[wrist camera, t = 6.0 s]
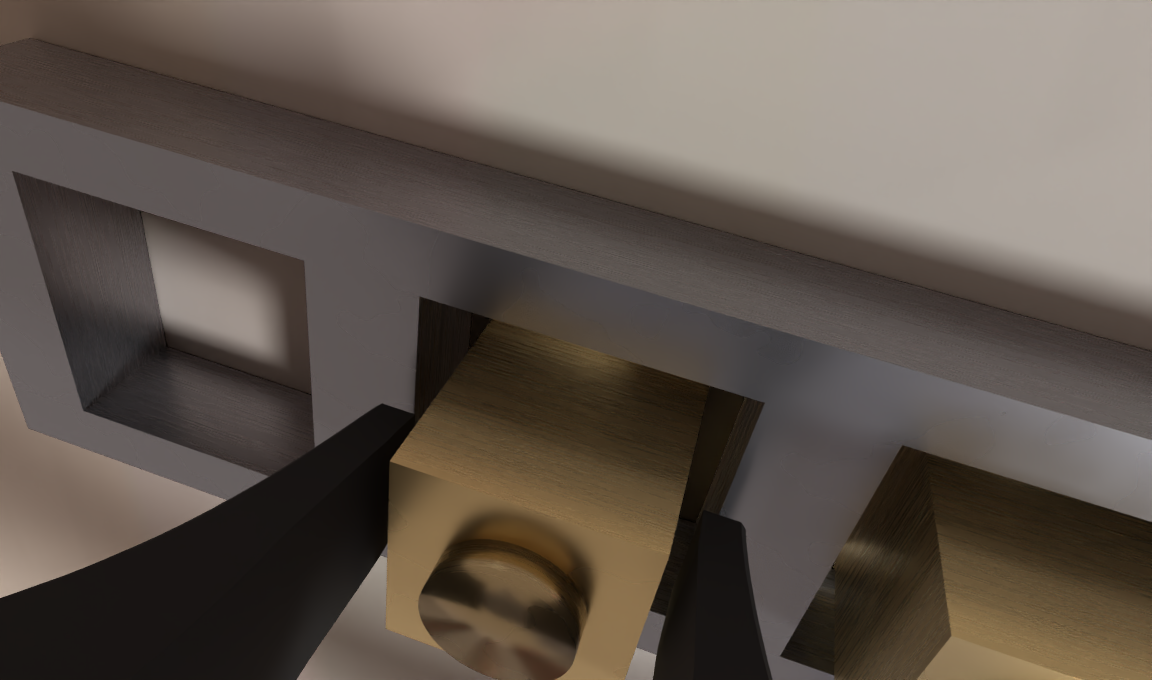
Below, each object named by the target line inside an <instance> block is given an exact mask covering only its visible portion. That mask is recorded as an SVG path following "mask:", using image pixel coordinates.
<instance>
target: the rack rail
mask: <svg viewBox="0 0 1152 680" xmlns="http://www.w3.org/2000/svg"><path fill="white" fill-rule="evenodd" d="M140 210H141V211H144V212H147V213H151V214H154V215H157V216H160V217H164V218H167V219H170V220H173V221H177V222H180V223H183V224H186V225H190V226H193V227H196V228H199V229H203V230H206V231H209V232H212V233H216V234H219V235H222V236H225V237H229V238H232V239H235V240H238V241H242V242H245V243H248V244H251V245H254V246H258V247H261V248H264V249H267V250H271V251H274V252H277V253H280V254H284V255H287V256H290V257H293V258H297V259H300V260H303V261H304V267H305V284H306V302H307V319H308V337H309V354H310V372H311V389H312V395H309V394H306V393H303V392H300V391H297V390H294V389H291V388H288V387H285V386H282V385H279V384H276V383H273V382H270V381H267V380H264V379H261V378H258V377H255V376H252V375H249V374H246V373H243V372H240V371H237V370H234V369H231V368H228V367H225V366H222V365H219V364H216V363H213V362H210V361H207V360H204V359H201V358H198V357H195V356H192V355H189V354H187V353H184V352H181V351H178V350H175V349H172V348H169V347H167V346H166V341H165V336H164V331H163V326H162V321H161V316H160V311H159V306H158V301H157V296H156V290H155V285H154V280H153V275H152V270H151V265H150V260H149V255H148V250H147V245H146V240H145V234H144V229H143V224H142V219H141V214H140ZM472 313H475V314H478V315H482V316H485V317H488V318H491V319H495V320H498V321H501V322H504V323H508V324H511V325H514V326H517V327H521V328H524V329H527V330H530V331H534V332H537V333H540V334H543V335H547V336H550V337H553V338H556V339H560V340H563V341H566V342H569V343H573V344H576V345H579V346H582V347H586V348H589V349H592V350H595V351H598V352H602V353H605V354H608V355H611V356H615V357H618V358H621V359H624V360H628V361H631V362H634V363H637V364H641V365H644V366H647V367H650V368H654V369H657V370H660V371H663V372H667V373H670V374H673V375H676V376H680V377H683V378H686V379H689V380H693V381H696V382H699V383H702V384H706V385H709V386H712V387H715V388H719V389H722V390H725V391H728V392H732V393H735V394H738V395H741V396H745V398H744V400H743V403H742V406H741V408H740V411H739V413H738V416H737V418H736V421H735V424H734V426H733V429H732V431H731V434H730V436H729V439H728V442H727V444H726V447H725V449H724V452H723V454H722V457H721V460H720V462H719V465H718V467H717V470H716V472H715V475H714V478H713V480H712V483H711V485H710V488H709V491H708V493H707V496H706V498H705V501H704V503H703V506H702V509H701V511H700V514H699V516H698V519H697V521H696V523H693V522H690V521H687V520H684V519H681V518H678V521H677V526H676V530H675V534H674V538H673V543H672V547H671V551H670V555H669V558H668V561H667V564H666V567H665V569H664V572H663V575H662V578H661V580H660V583H659V586H658V589H657V591H656V594H655V597H654V600H653V602H652V605H651V608H650V611H649V613H648V616H647V619H646V622H645V624H644V627H643V630H642V633H641V635H640V638H639V641H638V644H637V646H636V647H637V648H639V649H642V650H645V651H648V652H650V653H653V654H656V655H657V649H658V645H659V641H660V636H661V632H662V628H663V624H664V620H665V616H666V612H667V608H668V604H669V600H670V597H671V593H672V589H673V586H674V583H675V581H676V578H677V576H678V573H679V571H680V568H681V566H682V563H683V560H684V558H685V555H686V553H687V550H688V548H689V545H690V543H691V540H692V537H693V535H694V532H695V530H696V527H697V525H698V522H699V520H700V517H701V514H702V512H703V510H706V511H709V512H712V513H715V514H718V515H721V516H724V517H727V518H730V519H733V520H736V521H739V522H742V524H743V526H744V527H745V529H746V542H747V552H748V561H749V569H750V576H751V582H752V588H753V594H754V600H755V605H756V610H757V615H758V620H759V625H760V629H761V633H762V638H763V642H764V647H765V651H766V655H767V660H768V664H769V667H770V671H771V675H772V679H773V680H834V647H835V570H833V569H831V567H832V565H833V564H834V562H835V560H836V559H837V557H838V555H839V553H840V552H841V550H842V548H843V547H844V545H845V543H846V541H847V540H848V538H849V536H850V534H851V533H852V531H853V529H854V528H855V526H856V524H857V522H858V521H859V519H860V517H861V515H862V514H863V512H864V510H865V509H866V507H867V505H868V503H869V502H870V500H871V498H872V496H873V495H874V493H875V491H876V490H877V488H878V486H879V484H880V483H881V481H882V479H883V477H884V476H885V474H886V472H887V471H888V469H889V467H890V465H891V464H892V462H893V460H894V458H895V457H896V455H897V453H898V452H899V450H900V448H901V446H902V445H904V446H907V447H910V448H913V449H917V450H920V451H923V452H926V453H929V454H933V455H936V456H939V457H942V458H946V459H949V460H952V461H955V462H959V463H962V464H965V465H968V466H972V467H975V468H978V469H981V470H985V471H988V472H991V473H994V474H998V475H1001V476H1004V477H1007V478H1011V479H1014V480H1017V481H1020V482H1024V483H1027V484H1030V485H1033V486H1037V487H1040V488H1043V489H1046V490H1050V491H1053V492H1056V493H1059V494H1063V495H1066V496H1069V497H1072V498H1076V499H1079V500H1082V501H1085V502H1089V503H1092V504H1095V505H1098V506H1101V507H1105V508H1108V509H1111V510H1114V511H1118V512H1121V513H1124V514H1127V515H1131V516H1134V517H1137V518H1140V519H1144V520H1147V521H1150V522H1152V352H1151V351H1147V350H1144V349H1140V348H1136V347H1133V346H1129V345H1126V344H1122V343H1119V342H1115V341H1111V340H1108V339H1104V338H1101V337H1097V336H1094V335H1090V334H1086V333H1083V332H1079V331H1076V330H1072V329H1068V328H1065V327H1061V326H1058V325H1054V324H1051V323H1047V322H1043V321H1040V320H1036V319H1033V318H1029V317H1026V316H1022V315H1018V314H1015V313H1011V312H1008V311H1004V310H1001V309H997V308H993V307H990V306H986V305H983V304H979V303H976V302H972V301H968V300H965V299H961V298H958V297H954V296H950V295H947V294H943V293H940V292H936V291H933V290H929V289H925V288H922V287H918V286H915V285H911V284H908V283H904V282H900V281H897V280H893V279H890V278H886V277H883V276H879V275H875V274H872V273H868V272H865V271H861V270H857V269H854V268H850V267H847V266H843V265H840V264H836V263H832V262H829V261H825V260H822V259H818V258H815V257H811V256H807V255H804V254H800V253H797V252H793V251H790V250H786V249H782V248H779V247H775V246H772V245H768V244H765V243H761V242H757V241H754V240H750V239H747V238H743V237H739V236H736V235H732V234H729V233H725V232H722V231H718V230H714V229H711V228H707V227H704V226H700V225H697V224H693V223H689V222H686V221H682V220H679V219H675V218H672V217H668V216H664V215H661V214H657V213H654V212H650V211H646V210H643V209H639V208H636V207H632V206H629V205H625V204H621V203H618V202H614V201H611V200H607V199H604V198H600V197H596V196H593V195H589V194H586V193H582V192H579V191H575V190H571V189H568V188H564V187H561V186H557V185H553V184H550V183H546V182H543V181H539V180H536V179H532V178H528V177H525V176H521V175H518V174H514V173H511V172H507V171H503V170H500V169H496V168H493V167H489V166H486V165H482V164H478V163H475V162H471V161H468V160H464V159H461V158H457V157H453V156H450V155H446V154H443V153H439V152H435V151H432V150H428V149H425V148H421V147H418V146H414V145H410V144H407V143H403V142H400V141H396V140H393V139H389V138H385V137H382V136H378V135H375V134H371V133H368V132H364V131H360V130H357V129H353V128H350V127H346V126H342V125H339V124H335V123H332V122H328V121H325V120H321V119H317V118H314V117H310V116H307V115H303V114H300V113H296V112H292V111H289V110H285V109H282V108H278V107H275V106H271V105H267V104H264V103H260V102H257V101H253V100H250V99H246V98H242V97H239V96H235V95H232V94H228V93H224V92H221V91H217V90H214V89H210V88H207V87H203V86H199V85H196V84H192V83H189V82H185V81H182V80H178V79H174V78H171V77H167V76H164V75H160V74H157V73H153V72H149V71H146V70H142V69H139V68H135V67H131V66H128V65H124V64H121V63H117V62H114V61H110V60H106V59H103V58H99V57H96V56H92V55H89V54H85V53H81V52H78V51H74V50H71V49H67V48H64V47H60V46H56V45H53V44H49V43H46V42H42V41H39V40H35V39H31V38H29V39H25V40H21V41H17V42H13V43H9V44H5V45H2V46H0V351H1V354H2V357H3V360H4V363H5V365H6V368H7V371H8V374H9V376H10V379H11V382H12V385H13V387H14V390H15V393H16V396H17V399H18V401H19V404H20V407H21V410H22V412H23V415H24V418H25V421H26V424H27V426H28V428H29V429H32V430H34V431H37V432H40V433H43V434H45V435H48V436H51V437H54V438H57V439H59V440H62V441H65V442H68V443H70V444H73V445H76V446H79V447H82V448H84V449H87V450H90V451H93V452H95V453H98V454H101V455H104V456H106V457H109V458H112V459H115V460H118V461H120V462H123V463H126V464H129V465H131V466H134V467H137V468H140V469H143V470H145V471H148V472H151V473H154V474H156V475H159V476H162V477H165V478H168V479H170V480H173V481H176V482H179V483H181V484H184V485H187V486H190V487H193V488H195V489H198V490H201V491H204V492H206V493H209V494H212V495H215V496H218V497H220V498H223V499H226V500H229V499H230V498H232V497H234V496H236V495H237V494H239V493H241V492H243V491H244V490H246V489H248V488H250V487H251V486H253V485H255V484H257V483H259V482H260V481H262V480H264V479H265V478H267V477H269V476H270V475H272V474H274V473H275V472H277V471H278V470H280V469H281V468H283V467H285V466H286V465H288V464H289V463H291V462H293V461H294V460H296V459H297V458H299V457H301V456H302V455H304V454H305V453H307V452H309V451H310V450H312V449H313V448H315V447H316V446H318V445H319V444H321V443H322V442H324V441H325V440H327V439H328V438H330V437H331V436H333V435H334V434H336V433H337V432H339V431H340V430H342V429H343V428H345V427H346V426H348V425H349V424H351V423H352V422H353V421H355V420H356V419H358V418H359V417H361V416H362V415H364V414H365V413H367V412H368V411H370V410H371V409H373V408H374V407H376V406H378V405H380V404H382V403H383V404H386V405H389V406H392V407H395V408H398V409H401V410H404V411H407V412H410V413H413V414H415V425H416V424H417V423H418V421H419V420H420V418H421V417H422V416H423V414H424V413H425V411H426V410H427V409H428V407H429V406H430V404H431V403H432V402H433V400H434V399H435V398H436V396H437V395H438V393H439V392H440V391H441V389H442V388H443V386H444V385H445V384H446V382H447V381H448V380H449V378H450V377H451V375H452V374H453V373H454V371H455V370H456V368H457V367H458V366H459V364H460V363H461V361H462V360H463V359H464V357H465V356H466V355H467V353H468V345H469V335H470V325H471V315H472ZM387 551H388V543H387V545H386V547H385V549H384V551H383V552H382V554H381V556H384V557H387Z"/></svg>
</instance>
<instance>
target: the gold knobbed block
mask: <svg viewBox="0 0 1152 680" xmlns="http://www.w3.org/2000/svg"><path fill="white" fill-rule="evenodd" d="M834 680H1152V522H1150V521H1147V520H1144V519H1140V518H1137V517H1134V516H1131V515H1127V514H1124V513H1121V512H1118V511H1114V510H1111V509H1108V508H1105V507H1101V506H1098V505H1095V504H1092V503H1089V502H1085V501H1082V500H1079V499H1076V498H1072V497H1069V496H1066V495H1063V494H1059V493H1056V492H1053V491H1050V490H1046V489H1043V488H1040V487H1037V486H1033V485H1030V484H1027V483H1024V482H1020V481H1017V480H1014V479H1011V478H1007V477H1004V476H1001V475H998V474H994V473H991V472H988V471H985V470H981V469H978V468H975V467H972V466H968V465H965V464H962V463H959V462H955V461H952V460H949V459H946V458H942V457H939V456H936V455H933V454H929V453H926V452H923V451H920V450H917V449H913V448H910V447H907V446H904V445H902V446H901V448H900V450H899V452H898V453H897V455H896V457H895V458H894V460H893V462H892V464H891V465H890V467H889V469H888V471H887V472H886V474H885V476H884V477H883V479H882V481H881V483H880V484H879V486H878V488H877V490H876V491H875V493H874V495H873V496H872V498H871V500H870V502H869V503H868V505H867V507H866V509H865V510H864V512H863V514H862V515H861V517H860V519H859V521H858V522H857V524H856V526H855V528H854V529H853V531H852V533H851V534H850V536H849V538H848V540H847V541H846V543H845V545H844V547H843V548H842V550H841V552H840V553H839V555H838V557H837V559H836V560H835V647H834Z"/></svg>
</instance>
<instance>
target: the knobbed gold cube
mask: <svg viewBox="0 0 1152 680" xmlns="http://www.w3.org/2000/svg"><path fill="white" fill-rule="evenodd" d="M708 390H709V385H706V384H702V383H699V382H696V381H693V380H689V379H686V378H683V377H680V376H676V375H673V374H670V373H667V372H663V371H660V370H657V369H654V368H650V367H647V366H644V365H641V364H637V363H634V362H631V361H628V360H624V359H621V358H618V357H615V356H611V355H608V354H605V353H602V352H598V351H595V350H592V349H589V348H586V347H582V346H579V345H576V344H573V343H569V342H566V341H563V340H560V339H556V338H553V337H550V336H547V335H543V334H540V333H537V332H534V331H530V330H527V329H524V328H521V327H517V326H514V325H511V324H508V323H504V322H501V321H498V320H495V319H492V320H491V321H490V323H489V324H488V325H487V327H486V328H485V330H484V331H483V332H482V334H481V335H480V336H479V338H478V339H477V341H476V342H475V343H474V345H473V346H472V348H471V349H470V350H469V352H468V353H467V355H466V356H465V357H464V359H463V360H462V361H461V363H460V364H459V366H458V367H457V368H456V370H455V371H454V373H453V374H452V375H451V377H450V378H449V380H448V381H447V382H446V384H445V385H444V386H443V388H442V389H441V391H440V392H439V393H438V395H437V396H436V398H435V399H434V400H433V402H432V403H431V404H430V406H429V407H428V409H427V410H426V411H425V413H424V414H423V416H422V417H421V418H420V420H419V421H418V423H417V424H416V425H415V427H414V428H413V429H412V431H411V432H410V434H409V435H408V436H407V438H406V439H405V441H404V442H403V443H402V445H401V446H400V448H399V449H398V450H397V452H396V453H395V454H394V456H393V457H392V459H391V460H390V466H389V509H388V551H387V594H386V629H388V630H390V631H393V632H396V633H398V634H401V635H404V636H406V637H409V638H412V639H414V640H417V641H420V642H422V643H425V644H428V645H431V646H433V647H436V648H439V649H441V650H444V651H446V652H447V653H448V654H449V655H451V656H452V657H453V658H455V659H456V660H458V661H459V662H461V663H462V664H464V665H466V666H467V667H469V668H471V669H473V670H475V671H477V672H479V673H482V674H484V675H486V676H489V677H492V678H495V679H499V680H624V679H625V677H626V674H627V671H628V668H629V666H630V663H631V660H632V657H633V655H634V652H635V649H636V646H637V644H638V641H639V638H640V635H641V633H642V630H643V627H644V624H645V622H646V619H647V616H648V613H649V611H650V608H651V605H652V602H653V600H654V597H655V594H656V591H657V589H658V586H659V583H660V580H661V578H662V575H663V572H664V569H665V567H666V564H667V561H668V558H669V555H670V551H671V547H672V543H673V538H674V534H675V530H676V526H677V521H678V517H679V513H680V509H681V504H682V500H683V496H684V492H685V487H686V483H687V479H688V475H689V470H690V466H691V462H692V458H693V453H694V449H695V445H696V441H697V436H698V432H699V428H700V424H701V419H702V415H703V411H704V407H705V402H706V398H707V394H708Z"/></svg>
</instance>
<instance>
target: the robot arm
mask: <svg viewBox="0 0 1152 680" xmlns="http://www.w3.org/2000/svg"><path fill="white" fill-rule="evenodd" d="M414 427H415V414H413V413H410V412H407V411H404V410H401V409H398V408H395V407H392V406H389V405H386V404H383V403H382V404H380V405H378V406H376V407H374V408H373V409H371V410H370V411H368V412H367V413H365V414H364V415H362V416H361V417H359V418H358V419H356V420H355V421H353V422H352V423H351V424H349V425H348V426H346V427H345V428H343V429H342V430H340V431H339V432H337V433H336V434H334V435H333V436H331V437H330V438H328V439H327V440H325V441H324V442H322V443H321V444H319V445H318V446H316V447H315V448H313V449H312V450H310V451H309V452H307V453H305V454H304V455H302V456H301V457H299V458H297V459H296V460H294V461H293V462H291V463H289V464H288V465H286V466H285V467H283V468H281V469H280V470H278V471H277V472H275V473H274V474H272V475H270V476H269V477H267V478H265V479H264V480H262V481H260V482H259V483H257V484H255V485H253V486H251V487H250V488H248V489H246V490H244V491H243V492H241V493H239V494H237V495H236V496H234V497H232V498H230V499H229V500H227V501H225V502H223V503H222V504H220V505H218V506H216V507H214V508H212V509H211V510H209V511H207V512H205V513H203V514H201V515H199V516H197V517H195V518H193V519H191V520H189V521H187V522H185V523H184V524H182V525H180V526H178V527H175V528H173V529H171V530H169V531H167V532H165V533H163V534H161V535H159V536H157V537H155V538H152V539H150V540H148V541H146V542H144V543H141V544H139V545H137V546H134V547H132V548H130V549H128V550H125V551H123V552H121V553H118V554H116V555H114V556H111V557H109V558H107V559H104V560H102V561H100V562H97V563H95V564H92V565H90V566H87V567H85V568H83V569H80V570H77V571H75V572H72V573H70V574H67V575H65V576H62V577H59V578H56V579H53V580H50V581H48V582H45V583H42V584H39V585H36V586H34V587H31V588H28V589H25V590H22V591H20V592H17V593H14V594H11V595H8V596H5V597H2V598H0V680H296V679H297V678H298V676H299V675H300V673H301V671H302V670H303V668H304V667H305V665H306V664H307V662H308V660H309V659H310V658H311V656H312V655H313V653H314V652H315V650H316V649H317V647H318V646H319V644H320V643H321V642H322V640H323V639H324V637H325V636H326V634H327V633H328V631H329V630H330V628H331V627H332V626H333V624H334V623H335V621H336V620H337V618H338V617H339V615H340V614H341V612H342V611H343V610H344V608H345V607H346V605H347V604H348V602H349V601H350V599H351V598H352V596H353V595H354V594H355V592H356V591H357V589H358V588H359V586H360V585H361V583H362V582H363V580H364V579H365V577H366V576H367V574H368V573H369V572H370V570H371V569H372V567H373V566H374V564H375V563H376V561H377V560H378V558H379V557H380V555H381V554H382V552H383V551H384V549H385V547H386V545H387V543H388V509H389V466H390V460H391V459H392V457H393V456H394V454H395V453H396V452H397V450H398V449H399V448H400V446H401V445H402V443H403V442H404V441H405V439H406V438H407V436H408V435H409V434H410V432H411V431H412V429H413V428H414ZM653 680H773V679H772V675H771V671H770V667H769V664H768V660H767V655H766V651H765V647H764V642H763V638H762V633H761V629H760V625H759V620H758V615H757V610H756V605H755V600H754V594H753V588H752V582H751V576H750V569H749V561H748V552H747V542H746V529H745V527H744V526H743V524H742V522H739V521H736V520H733V519H730V518H727V517H724V516H721V515H718V514H715V513H712V512H709V511H706V510H703V512H702V514H701V517H700V520H699V522H698V525H697V527H696V530H695V532H694V535H693V537H692V540H691V543H690V545H689V548H688V550H687V553H686V555H685V558H684V560H683V563H682V566H681V568H680V571H679V573H678V576H677V578H676V581H675V583H674V586H673V589H672V593H671V597H670V600H669V604H668V608H667V612H666V616H665V620H664V624H663V628H662V632H661V636H660V641H659V645H658V649H657V656H656V662H655V669H654V676H653Z"/></svg>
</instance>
